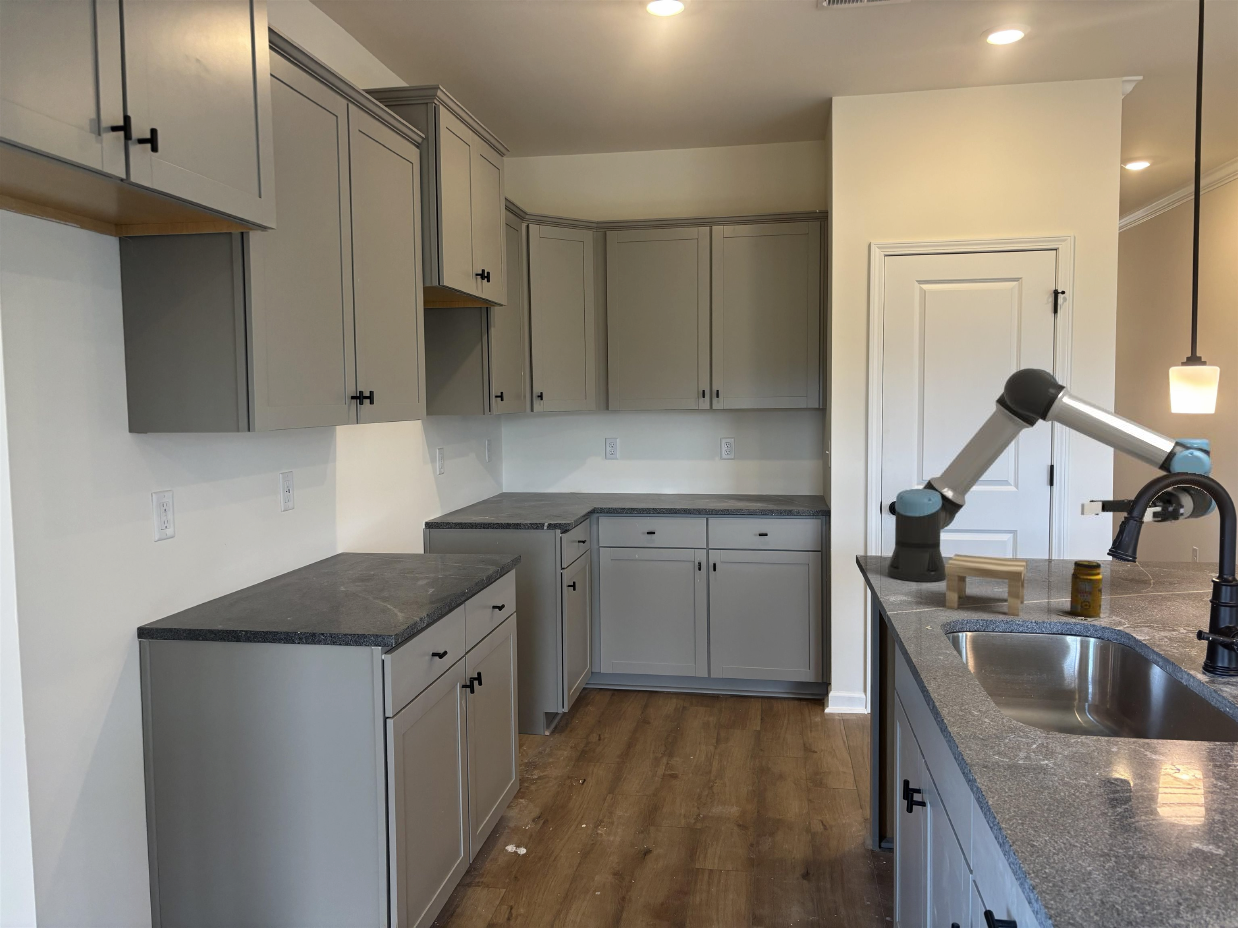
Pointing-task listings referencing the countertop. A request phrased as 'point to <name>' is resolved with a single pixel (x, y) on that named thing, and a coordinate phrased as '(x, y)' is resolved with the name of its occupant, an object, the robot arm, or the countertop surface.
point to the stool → (985, 569)
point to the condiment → (1085, 591)
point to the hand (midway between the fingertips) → (1111, 512)
